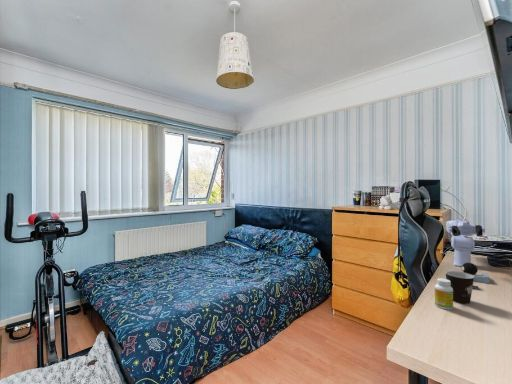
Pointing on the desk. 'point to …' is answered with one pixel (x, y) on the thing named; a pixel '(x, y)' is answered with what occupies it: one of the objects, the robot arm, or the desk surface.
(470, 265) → the billiard ball
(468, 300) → the coffee mug
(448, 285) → the supplement bottle
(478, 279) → the corral
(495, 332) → the desk surface
